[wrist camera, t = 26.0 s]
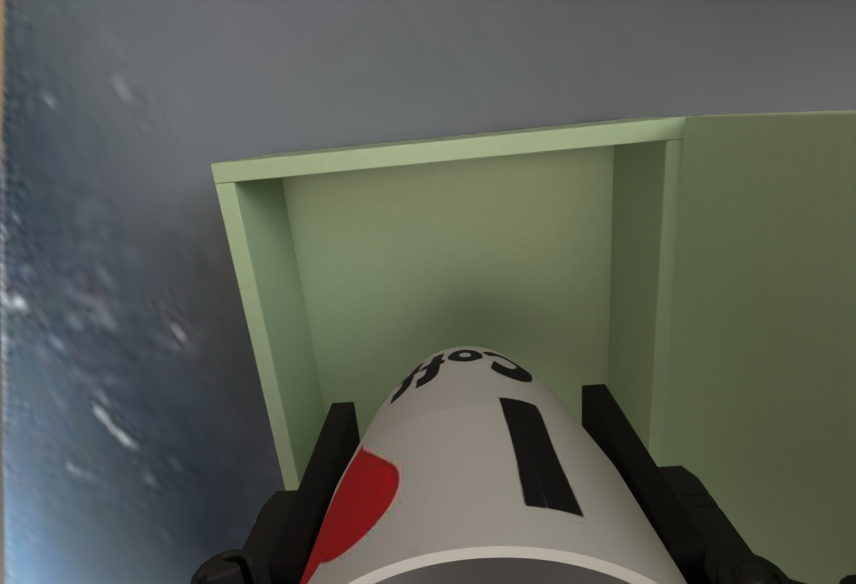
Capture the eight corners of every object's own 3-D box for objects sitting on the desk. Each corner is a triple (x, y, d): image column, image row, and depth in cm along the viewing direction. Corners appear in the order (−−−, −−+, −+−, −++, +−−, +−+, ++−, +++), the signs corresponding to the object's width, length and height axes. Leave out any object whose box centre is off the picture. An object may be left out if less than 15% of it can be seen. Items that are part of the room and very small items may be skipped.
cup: (544, 273, 16) (692, 483, 7) (604, 467, 18) (775, 825, 9) (320, 348, 17) (172, 622, 8) (404, 522, 20) (369, 894, 10)
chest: (324, 450, 32) (294, 532, 25) (266, 154, 26) (209, 163, 19) (615, 430, 31) (661, 511, 24) (624, 118, 25) (689, 116, 18)
